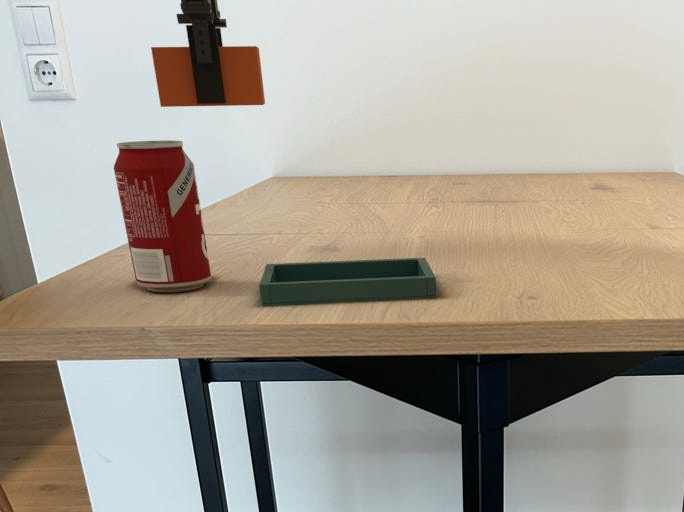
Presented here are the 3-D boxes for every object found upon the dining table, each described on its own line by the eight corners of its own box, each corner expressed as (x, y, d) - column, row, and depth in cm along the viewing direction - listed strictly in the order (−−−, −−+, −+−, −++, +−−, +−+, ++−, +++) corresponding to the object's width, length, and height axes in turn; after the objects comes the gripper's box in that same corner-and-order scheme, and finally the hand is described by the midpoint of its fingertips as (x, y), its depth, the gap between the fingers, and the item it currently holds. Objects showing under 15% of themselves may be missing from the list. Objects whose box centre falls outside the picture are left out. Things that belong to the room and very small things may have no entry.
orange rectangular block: (265, 103, 99) (258, 47, 96) (263, 105, 94) (256, 46, 91) (167, 105, 97) (158, 48, 95) (160, 106, 93) (150, 47, 90)
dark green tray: (262, 311, 78) (259, 284, 77) (269, 288, 86) (266, 263, 85) (436, 303, 79) (435, 277, 78) (426, 281, 88) (425, 257, 87)
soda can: (167, 297, 83) (140, 146, 77) (122, 289, 87) (93, 143, 81) (227, 285, 88) (206, 141, 82) (182, 278, 91) (158, 139, 85)
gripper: (144, -174, 91) (186, 101, 103) (111, -227, 75) (165, 105, 87) (223, -173, 92) (255, 100, 104) (206, -225, 76) (246, 103, 88)
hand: (214, 102), depth 95 cm, fingers closed on orange rectangular block, 5 cm apart
